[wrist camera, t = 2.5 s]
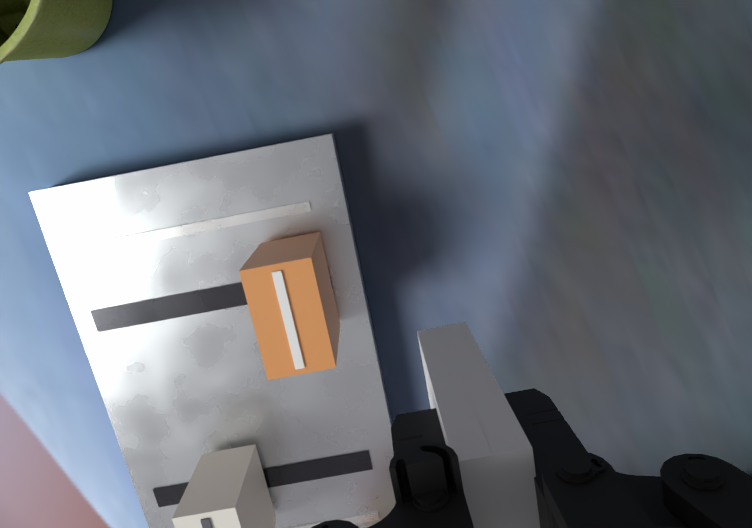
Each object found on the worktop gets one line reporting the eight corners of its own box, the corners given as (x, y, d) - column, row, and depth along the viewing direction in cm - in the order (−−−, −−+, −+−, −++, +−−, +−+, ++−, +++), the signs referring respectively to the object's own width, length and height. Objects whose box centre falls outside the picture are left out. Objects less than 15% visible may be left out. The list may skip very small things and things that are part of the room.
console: (333, 132, 28) (331, 133, 26) (411, 516, 34) (414, 541, 32) (51, 187, 28) (27, 192, 26) (179, 557, 35) (168, 584, 33)
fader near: (319, 231, 27) (310, 258, 22) (340, 324, 28) (336, 368, 23) (260, 243, 27) (238, 271, 22) (283, 335, 28) (267, 381, 23)
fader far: (255, 444, 30) (234, 509, 25) (276, 518, 31) (260, 594, 26) (202, 453, 30) (171, 520, 25) (225, 527, 31) (200, 604, 26)
